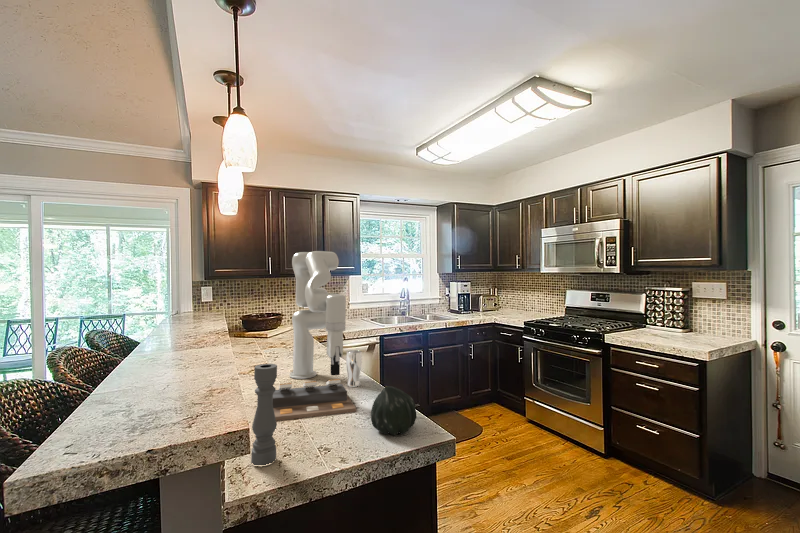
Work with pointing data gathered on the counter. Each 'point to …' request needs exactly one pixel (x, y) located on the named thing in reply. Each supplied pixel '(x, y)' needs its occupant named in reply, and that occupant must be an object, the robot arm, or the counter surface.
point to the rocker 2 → (310, 384)
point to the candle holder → (264, 415)
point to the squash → (393, 411)
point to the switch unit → (311, 402)
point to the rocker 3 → (333, 382)
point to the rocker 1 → (285, 386)
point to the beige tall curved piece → (353, 367)
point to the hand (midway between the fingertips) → (335, 374)
